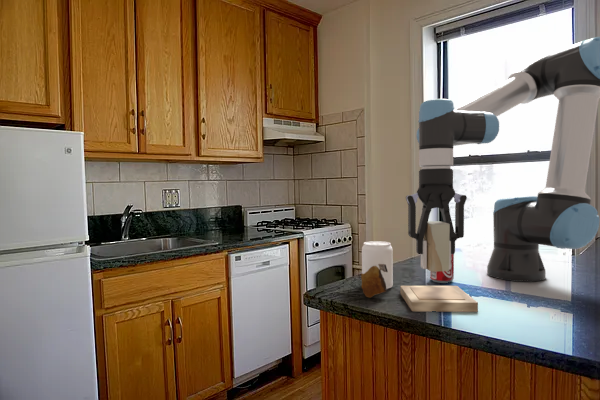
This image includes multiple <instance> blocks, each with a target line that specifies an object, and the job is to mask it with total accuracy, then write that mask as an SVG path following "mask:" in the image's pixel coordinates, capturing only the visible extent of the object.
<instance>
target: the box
mask: <svg viewBox="0 0 600 400" xmlns="http://www.w3.org/2000/svg"><path fill="white" fill-rule="evenodd" d="M449 235H450V224H449V223H445V222H444V221H439V220H437V221H436V220H435V221H434V220H433V221H431V220H428V223H427V227H426V231H425V235H424V240H426V241H427V269H426V270H428V271H431V272H437V271H449Z"/></svg>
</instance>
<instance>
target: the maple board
mask: <svg viewBox="0 0 600 400" xmlns="http://www.w3.org/2000/svg"><path fill="white" fill-rule="evenodd" d="M399 287H400V291H399V292H400V293H399V294H400V295H401V298H403V300H404V301H405V303H406V304H407V306H408V308H409V309H410V311H411V312H432V311H436V312H440V313H441V312H446V313H448V312H450V313H451V312H455V313H456V312H457V313H458V312H459V313H460V312H465V313H468V312H471V313H472V312H474V313H475V312H479V302H478V301H477V300H476V299H474V298H473V297H472V296H470V295H469V294H468V293H466V292H465V291H464V290H463V289H462V288H460V287H459V286H458V285H400V286H399Z"/></svg>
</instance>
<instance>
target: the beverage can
mask: <svg viewBox="0 0 600 400" xmlns="http://www.w3.org/2000/svg"><path fill="white" fill-rule="evenodd" d="M393 251H394V250H393V247H392V245H391V242H389V241H380V240H373V241H372V240H371V241H364V242H363V245H362V247H361V274H364V273H365V272H367V271H368V270H369V269H370V268H371V267H372V266H377V267H378V268H379V265H378V264H386V268H387V271H388V272H384V271H382V270H381V274H382V276H383V278H384V281H385V283H386V291H387V290H389V289H391V288H392V287H393V286H394V281H393V280H394V275H393V273H394V270H393V269H394V268H393V267H394V264H393V263H394V260H393V259H394V258H393V257H394V256H393V255H394V254H393ZM381 268H382V267H381ZM379 269H380V268H379Z"/></svg>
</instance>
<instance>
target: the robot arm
mask: <svg viewBox="0 0 600 400" xmlns="http://www.w3.org/2000/svg"><path fill="white" fill-rule="evenodd" d="M552 95H553V96H555V98H557V99H558V105H557V112H556V117H555V118H556V119H555V124H554V131H553V138H552V145H551V150H550V156H549V163H548V169H547V176H546V181H545V187H544V189H542V190H540V191H538V193H537V196H535V195H530V196H529V195H527V196H518V197H507V198H500V199H497V200H496V201H495V202H494V204H493V205H494V207H493V211H492V213H493V216H492V217H493V218H492V219H493V250H492V252H491V255H490V258H489V260H488V264H487V266H486V268H487V269H486V273H487V275H488V276H490V277H493V278H496V279H500V280H505V281H506V280H507V281H513V282H514V281H515V282H540V281H544V280H545V279H546V274H547V273H546V268H545V266H544V263H543V262H544V261H543V260H542V256H541V254H540V250H539V246H540V245H543V246H548V247H554V248H557V249H563V250H566V249H569V250H578V249H582V248H584V247H586V246H587V245H588V244H589V243H591V242H592V241H593V240H594V239H595V237H596V236H597V234H598V231H599V228H600V216H599V212H598V210H597V208H596V207H594V206H593V205H591V202H592V201H591V199H592V198H591V197H590V196H589V194H587V193H586V185H587V178H588V173H589V172H588V171H589V165H590V159H591V152H592V145H593V140H594V133H595V126H596V119H597V114H598V107H599V100H600V36H596V37H595V36H594V37H591V38H589V39H583V40H581V41H580V42H577V43H574V44H572V45H569V46H566V47H563V48H560V49H558V50H553V51H551V52H548V53H546V54H544V55H542V56H540V57H538V58H537V59H535V60H533V61H531V62H530V63H528V64H526V65H525V66H524V67H521V68H519V69H518V70H517V71H515V72H513V73H511V74H510V75H509V76H508V78H507V80H505V81H504V82H502V83H500V84H498V85H497V86H495V87H492V88H490V89H489V90H487V91H485V92H484V93H482V94H480V95H478V96H475V97H473V98H472V99H471V100H469V101H467V102H465V103H463V104H461V105H459V106H458V107H456V108H455V106H454V101H453V100H451V99H447V98H434V99H429V100H425V101H423V102H422V103H421V104H420V106H419V111H418V122H417V123H418V129H417V130H416V140H417V142H418V148H419V149H418V167H420V169H419V171H418V188H417V190H416V192H415V193H412V194H408V195H406V196H405V200H406V202H407V206H408V209H407V211H408V213H407V217H408V218H407V220H408V221H407V223H408V224H407V225H408V226H407V227H408V229H407V230H408V231H407V233H408V234H407V235H408V237H409V238H412V239H415V243H416V246H415V247H416V248H415V249H416V250H415V251H416V254H418V255H420V268H421V269H423V270H428V269H427V241H426V240H424V235H425V231H426V227H427V223H428V221H429V219H430V214H431V213H432V209H435V208H437V209H439V211H440V212H441V217H442V220H443V221H442V222H445V223H449V224H450V235H449V269H451V254H454V255H455V253H456V241H457V240H458V239H462V238H464V237H465V236H464V235H465V204H466V201H467V198H468V197H467V195H466V194H460V193H457V192H456V190H455V189H454V170H453V168H451V167H453V166H454V147H455V146H462V145H469V144H472V145H473V144H477V145H481V144H483V145H484V144H490V143H491V142H493V141H494V140H495V139H496V138H497V136H498V134H499V132H500V121H499V119H498V116H500V115H502V114H504V113H505V112H507V111H509V110H511V109H513V108H515V107H516V106H518V105H520V104H521V105H523V104H528V103H530V102H532V101H534V100H537V99H539V98H544V97H548V96H552ZM418 199H419V200H420V201H421V203H422V205H423V206H422V209H421V210H422V211H421V216H420V219H419V223H418V228H417V229H416V227H417V225H416V222H417V221H416V219H417V216H416V215H417V214H416V213H417V212H416V211H417V210H416V208H417V205H416V203H417V202H418ZM453 199H454V203H455V205H454V213H455V214H454V215H455V216H454V218H455V219H454V225H453V221H452V217H451V213H450V210H451V209H450V207H449V206H450V205H449V203H451V201H452V200H453Z"/></svg>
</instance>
